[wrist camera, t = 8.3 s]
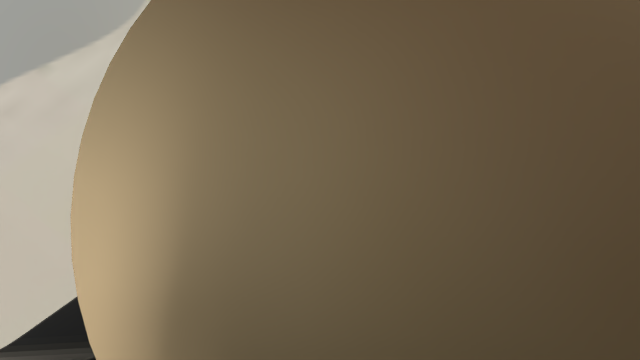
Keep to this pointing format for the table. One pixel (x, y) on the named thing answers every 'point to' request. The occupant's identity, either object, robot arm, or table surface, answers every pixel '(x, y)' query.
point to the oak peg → (364, 182)
